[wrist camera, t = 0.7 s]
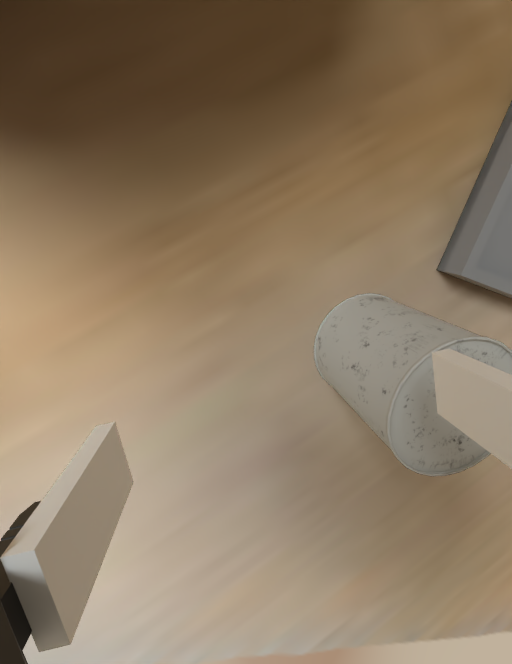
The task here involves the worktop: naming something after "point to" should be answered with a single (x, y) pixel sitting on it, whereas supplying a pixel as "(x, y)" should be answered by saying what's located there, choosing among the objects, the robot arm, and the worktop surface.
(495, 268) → the tote tray
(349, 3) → the worktop surface
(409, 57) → the worktop surface
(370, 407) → the speckled grey can
